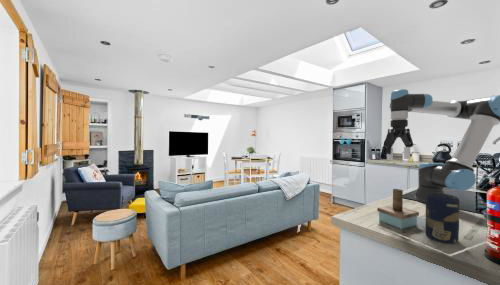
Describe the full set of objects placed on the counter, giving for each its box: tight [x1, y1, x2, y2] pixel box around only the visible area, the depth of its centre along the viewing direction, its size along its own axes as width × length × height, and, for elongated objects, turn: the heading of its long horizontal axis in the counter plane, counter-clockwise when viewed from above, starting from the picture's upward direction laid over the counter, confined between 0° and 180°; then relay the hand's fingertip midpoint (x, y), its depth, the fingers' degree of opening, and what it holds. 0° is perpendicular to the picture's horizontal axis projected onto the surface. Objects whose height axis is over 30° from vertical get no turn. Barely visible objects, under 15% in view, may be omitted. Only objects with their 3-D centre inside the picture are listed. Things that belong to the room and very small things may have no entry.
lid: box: [376, 188, 420, 219], centre depth 97 cm, size 11×11×10 cm
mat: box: [417, 216, 426, 229], centre depth 98 cm, size 12×12×1 cm
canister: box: [424, 192, 460, 244], centre depth 82 cm, size 10×10×18 cm
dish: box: [378, 211, 417, 230], centre depth 97 cm, size 10×10×5 cm
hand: (398, 159), depth 116 cm, fingers open, 13 cm apart
